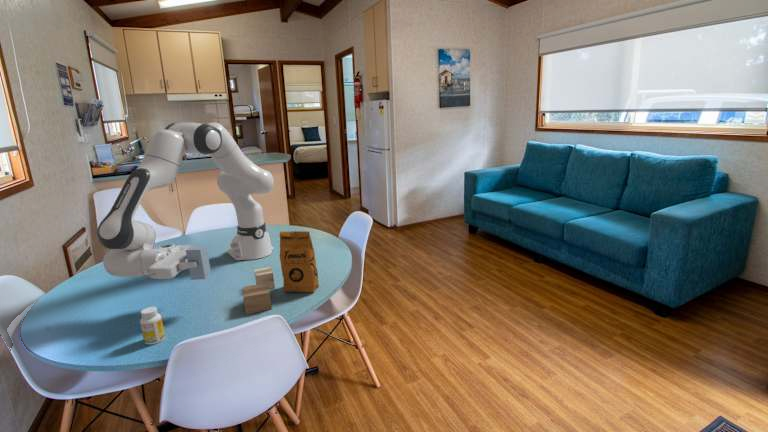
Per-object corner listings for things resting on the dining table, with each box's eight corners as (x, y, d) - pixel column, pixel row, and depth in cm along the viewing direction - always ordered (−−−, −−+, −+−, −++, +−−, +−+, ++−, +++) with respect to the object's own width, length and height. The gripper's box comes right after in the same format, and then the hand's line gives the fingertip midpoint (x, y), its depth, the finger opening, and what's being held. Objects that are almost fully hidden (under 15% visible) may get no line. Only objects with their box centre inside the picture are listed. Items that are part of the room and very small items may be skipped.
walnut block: (246, 303, 135) (243, 286, 134) (270, 298, 138) (268, 282, 136) (245, 313, 128) (243, 296, 126) (271, 309, 130) (269, 292, 129)
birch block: (256, 284, 149) (254, 269, 148) (272, 281, 151) (270, 266, 150) (257, 291, 144) (255, 275, 142) (274, 287, 146) (272, 272, 145)
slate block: (191, 279, 127) (185, 250, 124) (197, 273, 131) (192, 245, 129) (205, 279, 127) (199, 249, 124) (211, 273, 131) (206, 244, 129)
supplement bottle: (148, 347, 112) (141, 316, 109) (141, 341, 115) (134, 311, 113) (168, 338, 116) (162, 308, 113) (161, 332, 119) (154, 303, 117)
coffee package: (314, 295, 138) (308, 235, 133) (280, 294, 140) (273, 235, 135) (322, 283, 148) (317, 226, 142) (290, 282, 150) (284, 226, 144)
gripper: (136, 265, 117) (183, 263, 117) (172, 242, 137) (212, 240, 136) (141, 285, 119) (187, 283, 118) (176, 259, 138) (215, 257, 138)
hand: (201, 260), depth 128 cm, fingers closed on slate block, 4 cm apart
